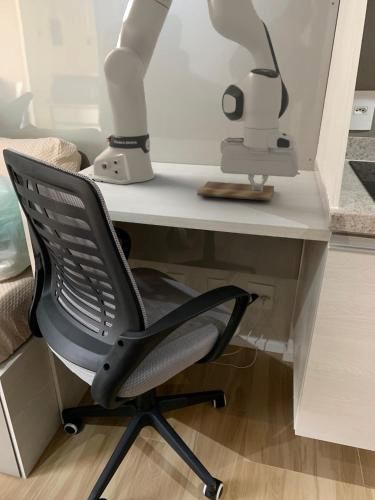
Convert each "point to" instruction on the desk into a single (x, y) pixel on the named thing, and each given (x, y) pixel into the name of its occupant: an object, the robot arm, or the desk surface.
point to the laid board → (236, 186)
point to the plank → (235, 193)
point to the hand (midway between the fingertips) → (257, 190)
